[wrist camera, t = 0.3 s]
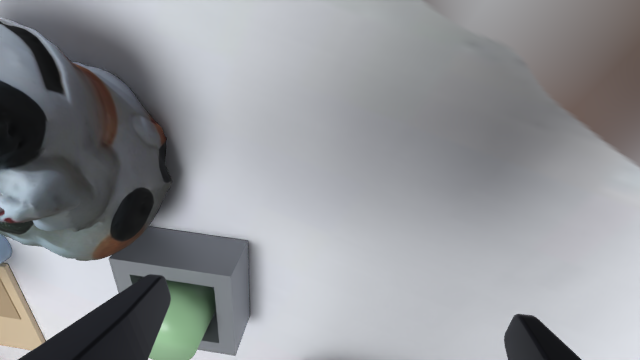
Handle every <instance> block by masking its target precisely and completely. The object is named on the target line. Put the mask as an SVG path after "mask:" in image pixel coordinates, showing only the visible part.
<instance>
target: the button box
mask: <svg viewBox="0 0 640 360" xmlns="http://www.w3.org/2000/svg"><path fill="white" fill-rule="evenodd" d="M109 261H110V265H111V268H112V272H113V275H114V279H115V282H116V285H117V289H118V292H119V293H120V292H122V291H123V290H125V289H126V288H128V287H129V286H131V285H132V284H134V283H135V282H137V281H138V280H140V279H141V278H143V277H145V276H146V275H149V274H154V275H162V276H164V277H165V278H166V280H170V281H176V282H183V283H190V284H196V285H203V286H209V287H214V292H215V302H216V311H215V313H214V315H213V317H212V319H211V321H210V323H209V325H208V328H207V330H206V332H205V334H204V336H203V338H202V340H201V342H200V344H199V347H198V349H197V350H203V351H209V352H215V353H222V354H228V355H234V356H236V353H237V350H238V347H239V344H240V342H241V339H242V336H243V333H244V331H245V328H246V325H247V322H248V319H249V317H250V306H249V262H248V241H246V240H239V239H232V238H225V237H218V236H211V235H204V234H197V233H190V232H183V231H176V230H169V229H162V228H155V227H147V229H146V230H145V231H144V232H143V234H142V235H141V236H140V237H139V238H137V239H136V240H135V241H134V242H133V243H132V244H130V245H129V246H127V247H126V248H124V249H122V250H121V251H119V252H117V253H115V254H113V255H112V256H111V257H110V258H109Z"/></svg>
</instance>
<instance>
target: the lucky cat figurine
mask: <svg viewBox="0 0 640 360" xmlns="http://www.w3.org/2000/svg"><path fill="white" fill-rule="evenodd" d="M166 140H167V139H166V137H165V135H164V133H163V130H162V128H161V127H160V125H159V124H158V123H157V122H156V121H155V120H154V119H153V118H152V117H151V116H150V114H149V113H148V112H147V111H146V109H145V108H144V107H143V106H142V104H141V103H140V102H139V100H138V99H137V97H136V96H135V94H134V93H133V92H132V91H131V90H130V89H129V87H128V86H127V85H126V84H125V83H124V82H122V81H121V80H120V79H119V78H117V77H116V76H115V75H113V74H111V73H110V72H107V71H104V70H101V69H99V68H96V67H91V66H86V65H83V64H81V63H77V62H71V61H70V60H69V59H68V58H67V57H66V56H65V55H64V54H63V53H62V52H61V51H60V49H59V48H57V47H56V46H55V45H54V44H53V43H51V42H50V41H48V40H47V39H45V38H44V37H43V36H42V35H41V34H40V33H38V32H37V31H36V30H34V29H31V28H28V27H26V26H23V25H21V24H18V23H16V22H14V21H12V20H9V19H5V18H1V17H0V234H2V235H4V236H6V237H10V238H12V239H13V240H16V241H18V242H20V243H22V244H25V245H31V246H41V247H44V248H46V249H48V250H50V251H52V252H54V253H56V254H58V255H60V256H63V257H66V258H72V259H73V258H75V259H76V260H80V261H89V260H98V259H102V258H105V257H108V256H110V255H113V254H115V253H117V252H119V251H121V250H122V249H124V248H126V247H127V246H129V245H130V244H132V243H133V242H134V241H135V240H136V239H137V238H139V237H140V236H141V235H142V234H143V232H144V231H145V230H146V229H147V227H148V226H149V225H150V223H151V222H152V220H153V219H154V217H155V215H156V214H157V212H158V209H159V208H160V206H161V203H162V201H163V200H164V198H165V196H166V193H167V192H168V190H169V189H170V186H171V184H172V179H171V176H170V174H169V172H168V170H167V168H166V166H165V156H166Z"/></svg>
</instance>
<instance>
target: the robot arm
mask: <svg viewBox="0 0 640 360" xmlns="http://www.w3.org/2000/svg"><path fill="white" fill-rule="evenodd" d="M170 302H171V295H170V291H169V288H168V285H167V281H166V278H165V277H164V276H162V275H154V274H149V275H146V276H145V277H143V278H141V279H140V280H138V281H137V282H135V283H134V284H132V285H131V286H129V287H128V288H126V289H125V290H123V291H122V292H120V293H119V294H117V295H116V296H114V297H113V298H111V299H110V300H108V301H107V302H105V303H103V304H102V305H100V306H99V307H97V308H96V309H94V310H93V311H91V312H90V313H88V314H87V315H85V316H84V317H82V318H81V319H79V320H78V321H76V322H75V323H73V324H72V325H70V326H68V327H67V328H65V329H64V330H62V331H61V332H59V333H58V334H56V335H55V336H53V337H52V338H50V339H49V340H47V341H46V342H44V343H43V344H41V345H40V346H38V347H37V348H35V349H34V350H32V351H30V352H29V353H27V354H26V355H24V356H23V357H21V358H20V359H18V360H148V358H149V355H150V353H151V351H152V348H153V346H154V343H155V341H156V338H157V336H158V333H159V331H160V328H161V326H162V323H163V321H164V318H165V316H166V313H167V311H168V308H169V306H170ZM504 343H505V348H506V353H507V357H508V360H581V359H580V358H579V357H578V356H577V355H576V354H575V353H574V352H573V351H572V350H571V349H570V348H569V347H567V346H566V345H565V344H564V343H563V342H562V341H561V340H560V339H559V338H558V337H557V336H556V335H555V334H554V333H552V332H551V331H550V330H549V329H548V328H547V327H546V326H545V325H544V324H543V323H542V322H541V321H540V320H539V319H537V318H536V317H534V316H532V315H524V314H516V315H515V316H514V317H513V319H512V321H511V323H510V325H509V327H508V329H507V331H506V333H505V336H504Z"/></svg>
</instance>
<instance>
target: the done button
mask: <svg viewBox="0 0 640 360" xmlns="http://www.w3.org/2000/svg"><path fill="white" fill-rule="evenodd" d="M166 281H167V285H168V288H169V291H170V295H171V302H170V306H169V308H168V311H167V313H166V316H165V318H164V321H163V323H162V326H161V328H160V331H159V333H158V336H157V338H156V341H155V343H154V346H153V348H152V351H151V353H150V355H149V358H151V359H153V360H189V359H191V358H192V357H193V356H194V355H195V353H196V351H197V349H198V347H199V344H200V342H201V340H202V338H203V336H204V334H205V332H206V330H207V328H208V325H209V323H210V321H211V319H212V317H213V315H214V313H215V311H216V302H215V292H214V290H213V288H212V287H209V286H203V285H196V284H190V283H183V282H176V281H170V280H166Z"/></svg>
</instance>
